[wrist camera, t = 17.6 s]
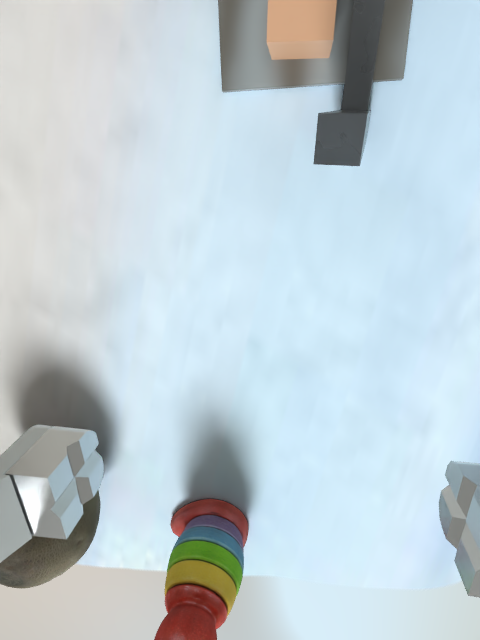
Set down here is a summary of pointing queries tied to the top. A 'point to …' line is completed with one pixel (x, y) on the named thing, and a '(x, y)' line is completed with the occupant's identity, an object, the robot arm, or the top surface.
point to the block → (300, 28)
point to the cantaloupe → (50, 552)
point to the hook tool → (352, 92)
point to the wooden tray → (264, 73)
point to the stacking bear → (203, 569)
